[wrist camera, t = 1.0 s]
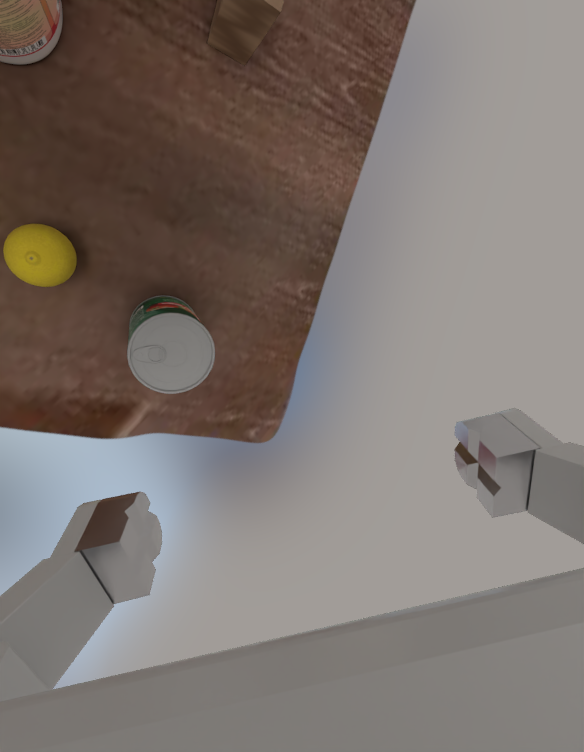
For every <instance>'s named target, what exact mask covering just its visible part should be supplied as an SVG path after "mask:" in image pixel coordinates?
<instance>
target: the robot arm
mask: <svg viewBox="0 0 584 752" xmlns="http://www.w3.org/2000/svg"><path fill="white" fill-rule="evenodd" d="M455 436H456V438H457V439H458V440H459V441H460V442H459V444H458V445H457V447H456V448H455V462H456V465H457V469H458V471H459V473H460V475H461V477H462V479H463V480H464V481H465V483H466V484H467V485H469V486H471V487H473V488H475V489H477V499H478V500H479V501H480V502H481V504H482V505H483V506H484V507H485V509H486V510H487V511H488V513H489V514H490V515H491V516H492V517H498V516H503V515H508V514H513V513H518V512H523V511H528V513H530V514H531V515H533V516H535V517H537V518H538V519H540V520H542V521H544V522H545V523H547V524H549V525H551V526H553V527H554V528H556V529H558V530H560V531H562V532H563V533H565V534H567V535H569V536H570V537H572V538H574V539H576V540H578V541H579V542H581V543H583V544H584V446H581V445H577V444H574V443H571V442H569V443H562V442H561V441H560V440H558V439H557V438H556V437H554V436H553V435H552V434H551V433H549V432H548V431H547V430H545V429H544V428H543V427H541V426H540V425H539V424H537V423H536V422H535V421H534V420H532V419H531V418H530V417H528V416H527V415H526V414H524V413H523V412H522V411H521V410H519V409H515V408H513V409H509V410H505V411H501V412H497V413H495V414H491V415H486V416H482V417H477V418H473V419H469V420H464V421H460V422H457V423H456V426H455ZM149 505H150V501H149V499H148V498H147V496H146V494H145V493H143V492H136V493H131V494H126V495H121V496H117V497H111V498H106V499H102V500H97V501H92V502H87V503H83V504H82V505H80V506H79V507H78V508H77V510H76V512H75V513H74V515H73V517H72V519H71V521H70V522H69V524H68V526H67V528H66V530H65V532H64V533H63V535H62V537H61V539H60V541H59V542H58V544H57V546H56V548H55V550H54V551H53V553H52V555H51V557H50V558H48V559H44V560H42V561H41V562H40V563H39V564H38V565H37V566H35V567H34V568H33V569H32V570H30V571H29V572H28V573H27V574H26V575H25V576H24V577H22V578H21V579H20V580H19V581H18V582H16V583H15V584H14V585H13V586H12V587H11V588H9V589H8V590H7V591H6V592H5V593H3V594H2V595H1V596H0V752H584V568H582V569H577V570H573V571H568V572H565V573H560V574H555V575H551V576H547V577H542V578H538V579H533V580H529V581H525V582H520V583H516V584H512V585H507V586H503V587H498V588H494V589H490V590H485V591H481V592H477V593H472V594H468V595H464V596H459V597H455V598H451V599H447V600H442V601H438V602H433V603H429V604H425V605H420V606H416V607H412V608H407V609H403V610H398V611H394V612H390V613H385V614H382V615H377V616H372V617H368V618H363V619H360V620H355V621H350V622H346V623H342V624H337V625H333V626H329V627H324V628H320V629H315V630H311V631H307V632H302V633H298V634H294V635H289V636H285V637H280V638H276V639H272V640H267V641H263V642H259V643H254V644H250V645H245V646H241V647H237V648H232V649H228V650H223V651H219V652H215V653H210V654H206V655H202V656H198V657H193V658H189V659H184V660H180V661H176V662H171V663H167V664H163V665H158V666H154V667H149V668H145V669H141V670H136V671H132V672H127V673H123V674H119V675H115V676H110V677H106V678H101V679H97V680H93V681H88V682H84V683H79V684H75V685H71V686H66V687H62V688H58V689H53V688H54V686H55V685H56V683H57V682H58V681H59V680H60V678H61V677H62V675H63V674H64V673H65V671H66V670H67V669H68V667H69V666H70V665H71V663H72V662H73V661H74V659H75V658H76V657H77V655H78V654H79V653H80V651H81V650H82V648H83V647H84V646H85V645H86V643H87V641H88V640H89V639H90V638H91V636H92V635H93V634H94V632H95V631H96V630H97V628H98V627H99V626H100V624H101V623H102V622H103V620H104V619H105V617H106V616H107V615H108V613H109V612H110V611H111V609H112V608H113V607H114V605H113V604H116V603H120V602H124V601H128V600H132V599H136V598H139V597H143V596H147V595H149V594H150V590H151V586H152V582H153V578H154V574H155V570H156V569H155V567H154V565H153V563H152V562H153V561H154V559H155V558H156V557H157V556H158V555H159V554H160V549H161V545H162V531H161V526H160V523H159V520H158V518H157V516H156V515H154V514H153V513H151V512H149V511H148V509H149ZM52 689H53V690H52Z"/></svg>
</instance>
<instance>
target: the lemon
mask: <svg viewBox="0 0 584 752" xmlns="http://www.w3.org/2000/svg"><path fill="white" fill-rule="evenodd" d="M3 252H4V258H5V261H6V263H7V266H8V267H9V268H10V270H11V271H12V272H13V273H14V274H15V275H16V276H17V277H18V278H20V279H21V280H23V281H25V282H27V283H29V284H32V285H35V286H41V287H50V286H56V285H59V284H61V283H64V282H65V281H66V280H68V279H69V278H70V277H71V275H72V274H73V273H74V270H75V268H76V262H77V257H76V252H75V249H74V247H73V245H72V243H71V242H70V241H69V240H68V238H67V237H66V236H65V235H63V234H62V233H61V232H60V231H58V230H56V229H54V228H52V227H50V226H46V225H43V224H27V225H22V226H20V227H18V228H16V229H14V230H13V231H12V232H11V233H10V234H9V235H8V237H7V239H6V240H5V243H4V249H3Z"/></svg>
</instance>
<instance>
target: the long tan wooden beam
mask: <svg viewBox="0 0 584 752" xmlns="http://www.w3.org/2000/svg"><path fill="white" fill-rule="evenodd" d="M283 2H284V0H217V2H216V7H215V11H214V15H213V20H212V24H211V28H210V32H209V37H208V41H207V44H208V45H210V46H212V47H213V48H215V49H217V50H219V51H220V52H222V53H224V54H225V55H227V56H229V57H230V58H232V59H234V60H235V61H237V62H239V63H241V64H242V65H244V66H245V65H246V63H247V62H248V60H249V59H250V57H251V56H252V54H253V53H254V51H255V50H256V48H257V47H258V45H259V44H260V42H261V41H262V39H263V38H264V36H265V35H266V33H267V32H268V30H269V29H270V27H271V26H272V24H273V23H274V21H275V20H276V18H277V17H278V15H279V14H280V12H281V9H282V6H283Z"/></svg>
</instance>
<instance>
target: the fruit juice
mask: <svg viewBox="0 0 584 752" xmlns="http://www.w3.org/2000/svg"><path fill="white" fill-rule="evenodd" d="M62 22H63V15H62V3H61V0H0V61H1V62H5V63H10V64H30V63H34V62H37V61H39V60H41V59H43V58H44V57H46V56H47V55H48V54H49V53H50V52H51V51H52V50H53V49H54V47H55V46H56V44H57V42H58V40H59V37H60V34H61V30H62Z"/></svg>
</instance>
